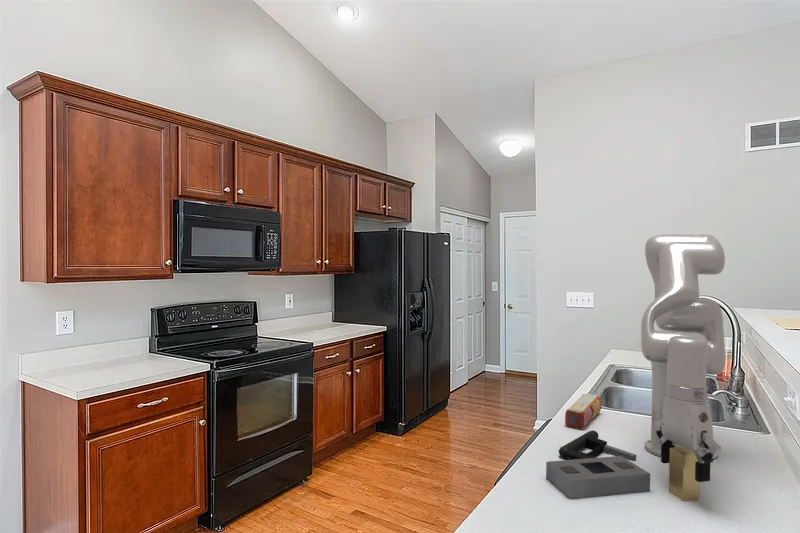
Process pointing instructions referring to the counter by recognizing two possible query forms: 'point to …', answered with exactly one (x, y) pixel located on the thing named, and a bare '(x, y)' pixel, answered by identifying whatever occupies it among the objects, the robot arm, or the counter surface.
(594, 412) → the snack package
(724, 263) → the robot arm
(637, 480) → the grey peg hole block
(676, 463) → the brass peg
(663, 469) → the counter surface
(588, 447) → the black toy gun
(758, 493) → the counter surface
